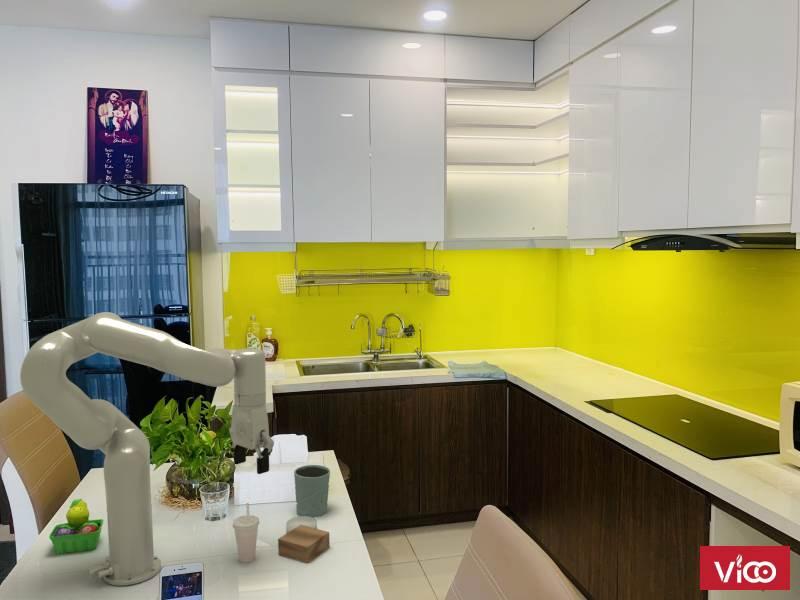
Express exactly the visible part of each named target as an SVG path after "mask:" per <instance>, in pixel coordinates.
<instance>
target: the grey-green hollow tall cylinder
mask: <svg viewBox="0 0 800 600" xmlns="http://www.w3.org/2000/svg"><path fill="white" fill-rule="evenodd" d="M293 476H294V485H295V486H294V489H295V502H296V514H297V515H298V516H299V515H300V516H309V517H313V518H318V517H322V516H323V515H325V514H326V513H327V511H328V502H329V501H328V500H329V490H330V489H329V487H330V484H329V483H330V478H331V477H330V476H331V469H330V468H329V467H327V466H324V465H320V464H319V465H318V464H308V465H303V466H299V467H297V468H296V469H294V470H293Z"/></svg>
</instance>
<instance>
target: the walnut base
mask: <svg viewBox="0 0 800 600" xmlns="http://www.w3.org/2000/svg"><path fill="white" fill-rule="evenodd" d="M277 547H278V548H277V550H278V551H277V552H278V555H279V556H282V557H286V558H289V559H292V560H296V561H299V562H302V563H305V564H309V563H310V562H312V561H313V560H314V559H316V558H317V557H319V556H320V555H321V554H323V553H324V552H325V551H327V550H328V549H330V547H331V546H330V532H329V531H327V530H322V529H319V528H317V529H315V528H312V527H308V526H304V525H299V526H298V527H296V528H295V529H293V530H291V531H290V532H288V533H285V534H283V535H282V536H280V537H279V538H278V539H277Z"/></svg>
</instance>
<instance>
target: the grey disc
mask: <svg viewBox="0 0 800 600" xmlns="http://www.w3.org/2000/svg"><path fill="white" fill-rule="evenodd" d="M299 525H304V526H308V527H312V528H315V529H318V528H317V527H318V522H317V519H316V517H314V518H313V517H309V516H299V515H298V516H294V517H292V518H290V519H288V520H287V521H286V523H285V526H286V527H285V528H286V530H285V532H286V533H285V534H287V533H288V532H290V531H291V530H293V529H295V528H296V527H298V526H299Z"/></svg>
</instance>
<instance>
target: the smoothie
mask: <svg viewBox="0 0 800 600" xmlns="http://www.w3.org/2000/svg"><path fill="white" fill-rule="evenodd" d="M249 506H250V505H249V502H246V514H245V515H241V516H238V517H235V518H234V519H233V520H232V528H233V529H234V536H235V541H236V548H237V553H238V560H239V562H240V563H244V564H245V563H246V564H247V563H250V562H253V561H254V560H255V558H256V550H257V541H258V538H257V537H258V529H259V525H260V518H259V517H258V516H256V515H254V514H253V515H252V514H250V507H249Z"/></svg>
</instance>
